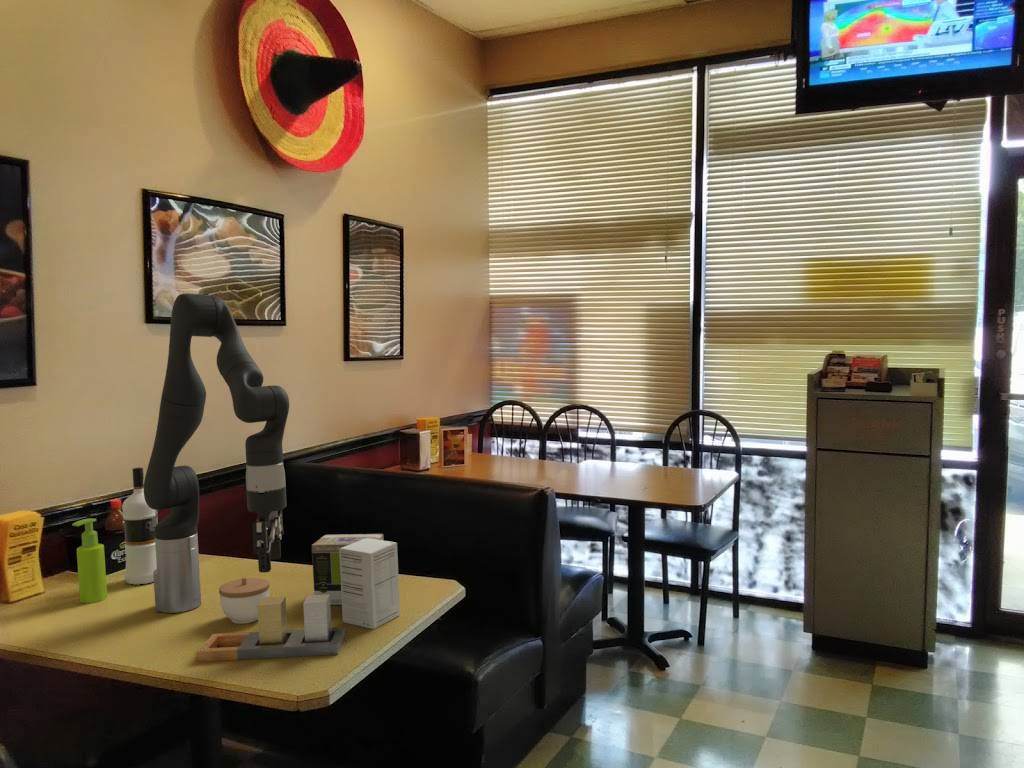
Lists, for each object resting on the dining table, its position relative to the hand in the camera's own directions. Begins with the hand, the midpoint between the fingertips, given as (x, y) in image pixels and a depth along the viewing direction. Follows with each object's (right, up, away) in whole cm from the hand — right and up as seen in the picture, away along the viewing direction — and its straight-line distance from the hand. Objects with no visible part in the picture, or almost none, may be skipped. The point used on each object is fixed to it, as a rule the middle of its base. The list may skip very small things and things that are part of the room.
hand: (270, 565), depth 155 cm
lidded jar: (-11, -17, +18) cm, 27 cm away
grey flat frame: (0, -17, +1) cm, 17 cm away
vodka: (-48, -15, +48) cm, 70 cm away
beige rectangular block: (0, -17, +1) cm, 17 cm away
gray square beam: (+9, -17, +2) cm, 19 cm away
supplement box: (+17, -16, +16) cm, 29 cm away
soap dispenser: (-54, -17, +34) cm, 66 cm away
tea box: (+10, -15, +30) cm, 35 cm away
